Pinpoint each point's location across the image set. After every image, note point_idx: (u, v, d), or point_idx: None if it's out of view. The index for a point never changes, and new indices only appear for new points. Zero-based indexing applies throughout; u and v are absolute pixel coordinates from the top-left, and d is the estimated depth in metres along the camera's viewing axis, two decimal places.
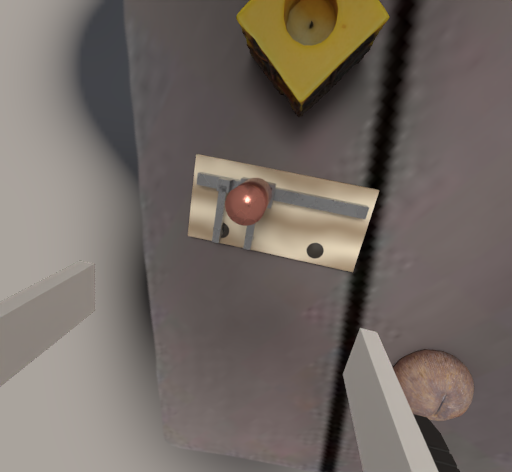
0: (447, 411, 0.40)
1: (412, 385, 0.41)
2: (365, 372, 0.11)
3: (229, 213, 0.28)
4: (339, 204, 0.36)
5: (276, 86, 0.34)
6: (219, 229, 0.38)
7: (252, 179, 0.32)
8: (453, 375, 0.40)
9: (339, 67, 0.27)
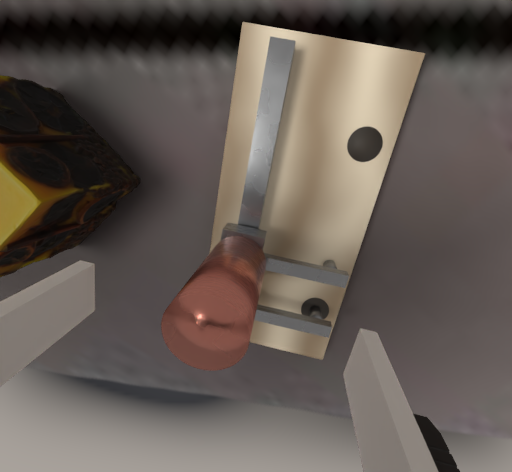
0: None
1: None
2: (365, 372, 0.11)
3: (223, 364, 0.12)
4: (264, 102, 0.18)
5: (104, 215, 0.24)
6: (306, 323, 0.21)
7: None
8: None
9: (5, 130, 0.16)
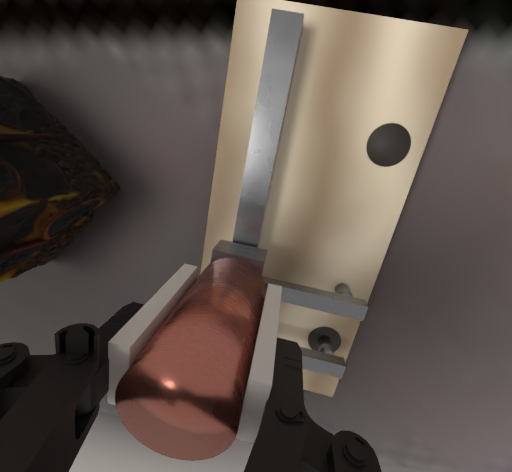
0: None
1: None
2: None
3: (202, 453, 0.09)
4: (264, 93, 0.15)
5: (79, 227, 0.21)
6: (314, 360, 0.18)
7: None
8: None
9: None
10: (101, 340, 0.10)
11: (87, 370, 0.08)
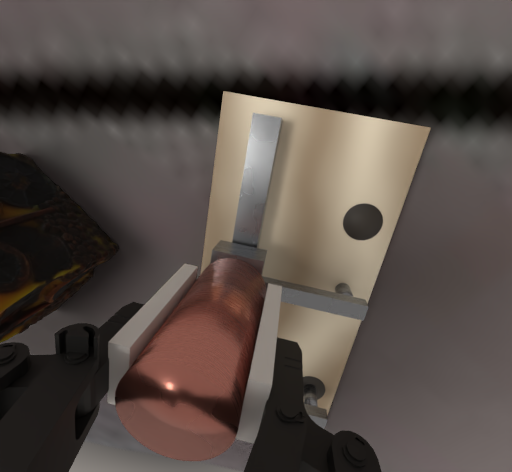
0: None
1: None
2: None
3: (202, 454, 0.09)
4: (248, 182, 0.16)
5: (81, 283, 0.23)
6: None
7: None
8: None
9: None
10: (101, 340, 0.10)
11: (87, 370, 0.08)
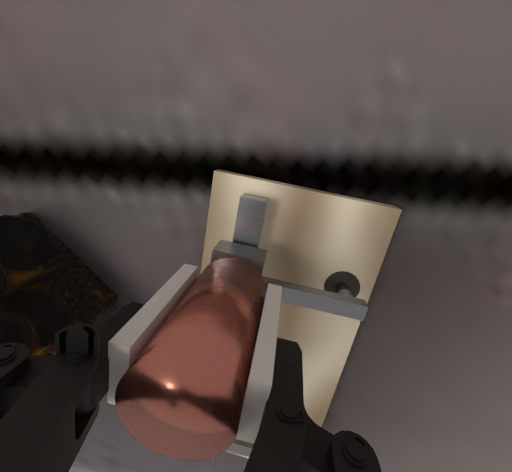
0: None
1: None
2: None
3: (202, 453, 0.09)
4: None
5: None
6: None
7: None
8: None
9: None
10: (101, 340, 0.10)
11: (87, 370, 0.08)
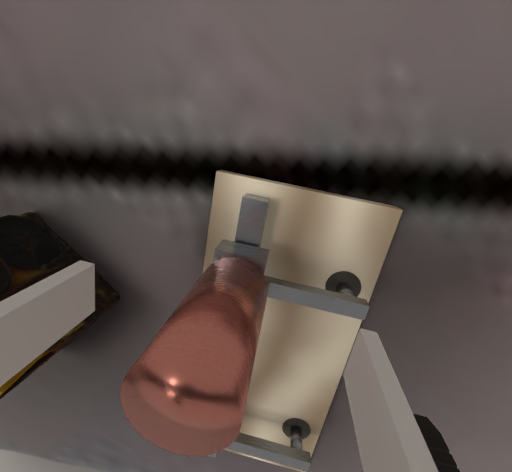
0: None
1: None
2: (365, 372, 0.11)
3: (206, 449, 0.09)
4: None
5: (84, 327, 0.24)
6: (284, 457, 0.21)
7: None
8: None
9: None
10: None
11: None
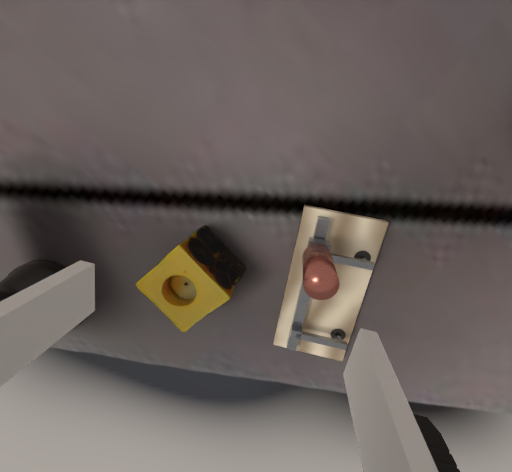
0: None
1: None
2: (365, 372, 0.11)
3: (327, 297, 0.31)
4: None
5: None
6: (334, 342, 0.43)
7: (302, 263, 0.36)
8: None
9: (209, 265, 0.38)
10: None
11: None
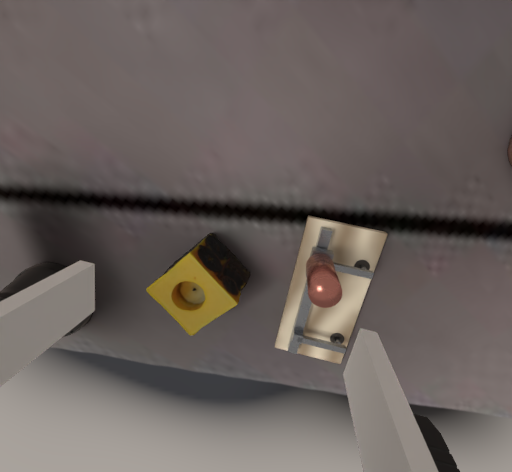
0: None
1: None
2: (365, 372, 0.11)
3: (330, 305, 0.33)
4: None
5: None
6: (333, 346, 0.45)
7: (306, 272, 0.38)
8: None
9: (217, 272, 0.40)
10: None
11: None
